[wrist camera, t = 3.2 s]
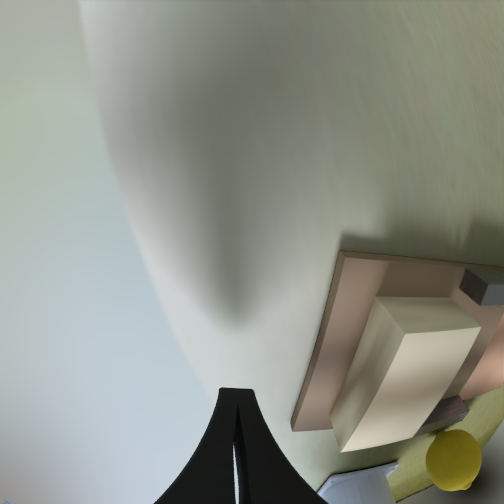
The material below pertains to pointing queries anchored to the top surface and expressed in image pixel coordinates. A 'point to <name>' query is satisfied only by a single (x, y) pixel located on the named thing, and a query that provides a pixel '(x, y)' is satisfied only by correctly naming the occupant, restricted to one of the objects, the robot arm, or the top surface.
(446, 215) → the top surface
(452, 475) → the lemon
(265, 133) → the top surface
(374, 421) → the block
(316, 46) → the top surface
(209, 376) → the top surface
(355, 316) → the board
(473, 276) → the channel
